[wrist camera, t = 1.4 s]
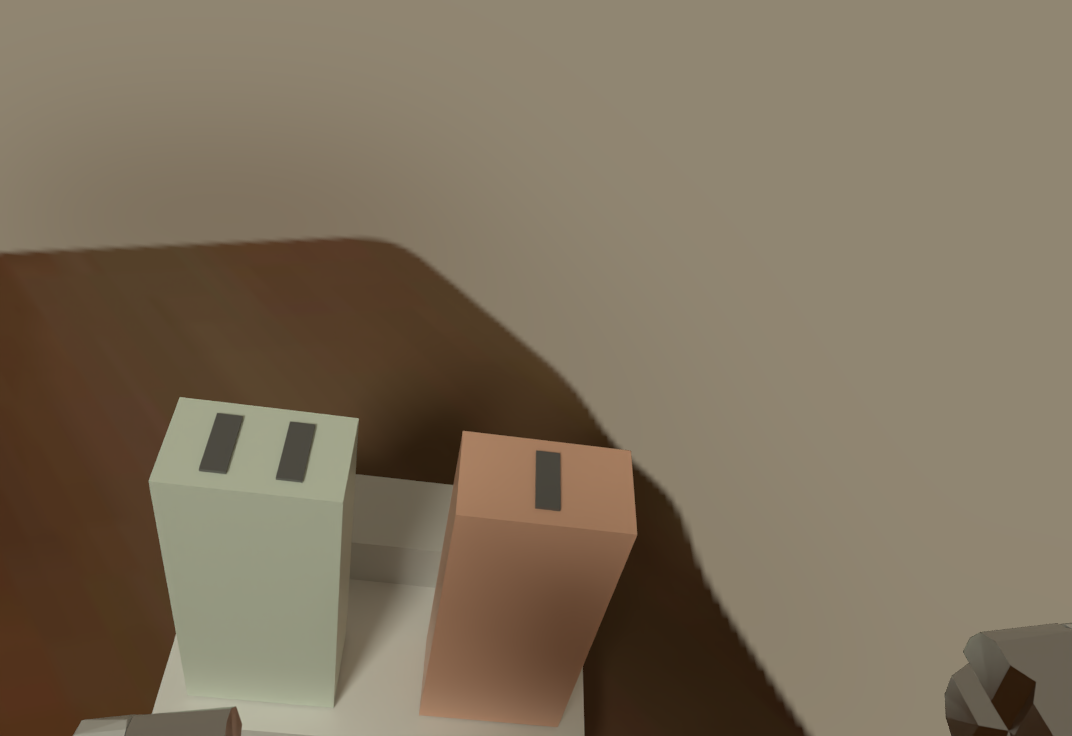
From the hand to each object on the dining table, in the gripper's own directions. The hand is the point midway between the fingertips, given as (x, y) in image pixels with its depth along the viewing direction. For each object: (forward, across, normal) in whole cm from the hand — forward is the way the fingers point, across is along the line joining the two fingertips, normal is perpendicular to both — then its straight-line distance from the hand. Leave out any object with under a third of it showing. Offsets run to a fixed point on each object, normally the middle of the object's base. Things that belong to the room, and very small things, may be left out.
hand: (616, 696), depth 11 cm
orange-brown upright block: (+15, 0, +22) cm, 26 cm away
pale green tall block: (+16, +8, +20) cm, 27 cm away
